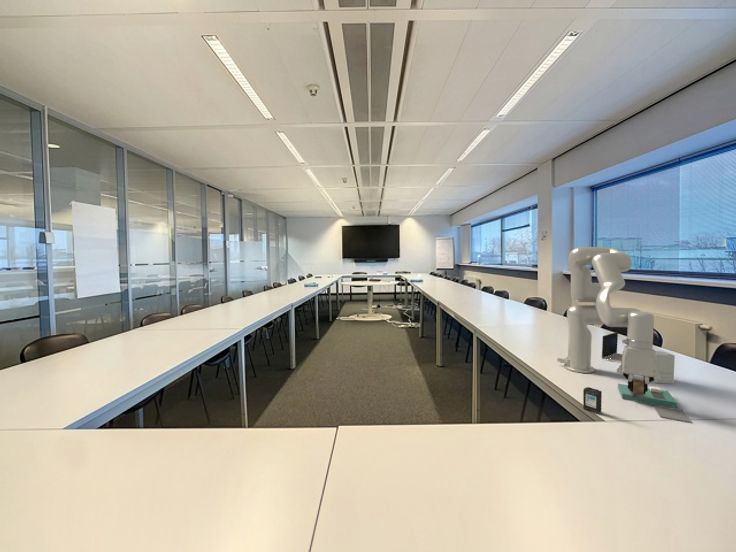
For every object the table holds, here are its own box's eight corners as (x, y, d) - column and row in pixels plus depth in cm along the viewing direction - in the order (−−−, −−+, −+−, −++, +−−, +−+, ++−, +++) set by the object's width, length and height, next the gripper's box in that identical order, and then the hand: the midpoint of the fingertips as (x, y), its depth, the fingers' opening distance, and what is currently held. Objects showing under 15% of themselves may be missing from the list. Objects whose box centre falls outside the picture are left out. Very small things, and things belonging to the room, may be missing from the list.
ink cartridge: (583, 409, 120) (583, 387, 120) (586, 407, 121) (586, 386, 121) (598, 414, 116) (598, 392, 116) (601, 412, 117) (601, 390, 117)
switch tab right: (651, 391, 130) (651, 388, 130) (649, 389, 132) (649, 386, 132) (660, 392, 129) (661, 389, 129) (659, 390, 131) (659, 387, 131)
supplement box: (660, 377, 151) (662, 350, 150) (674, 383, 144) (675, 355, 143) (643, 377, 152) (644, 349, 151) (655, 383, 144) (657, 354, 144)
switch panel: (622, 398, 129) (622, 393, 128) (617, 388, 139) (617, 383, 139) (677, 408, 120) (677, 402, 120) (667, 396, 131) (668, 391, 131)
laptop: (629, 366, 168) (630, 340, 167) (601, 359, 178) (602, 335, 178) (643, 360, 177) (644, 336, 177) (616, 354, 188) (617, 331, 187)
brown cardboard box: (633, 397, 125) (633, 381, 124) (631, 393, 128) (631, 378, 128) (643, 398, 123) (644, 383, 123) (641, 394, 127) (641, 379, 126)
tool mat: (660, 417, 114) (660, 416, 114) (653, 405, 122) (653, 404, 122) (691, 423, 110) (692, 421, 110) (682, 410, 118) (682, 409, 118)
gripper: (614, 343, 126) (612, 391, 127) (671, 349, 117) (668, 400, 118) (611, 339, 132) (609, 384, 133) (665, 345, 124) (662, 392, 125)
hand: (637, 391), depth 126 cm, fingers closed on brown cardboard box, 3 cm apart
